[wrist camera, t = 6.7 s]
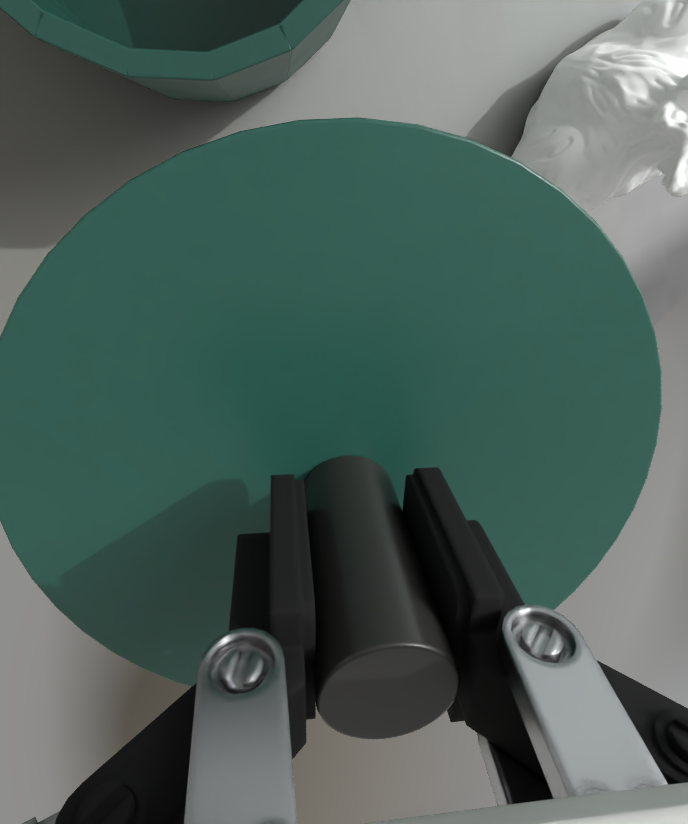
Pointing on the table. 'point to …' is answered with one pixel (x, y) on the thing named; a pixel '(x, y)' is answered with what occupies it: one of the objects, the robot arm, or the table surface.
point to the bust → (616, 110)
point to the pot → (186, 40)
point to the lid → (322, 395)
